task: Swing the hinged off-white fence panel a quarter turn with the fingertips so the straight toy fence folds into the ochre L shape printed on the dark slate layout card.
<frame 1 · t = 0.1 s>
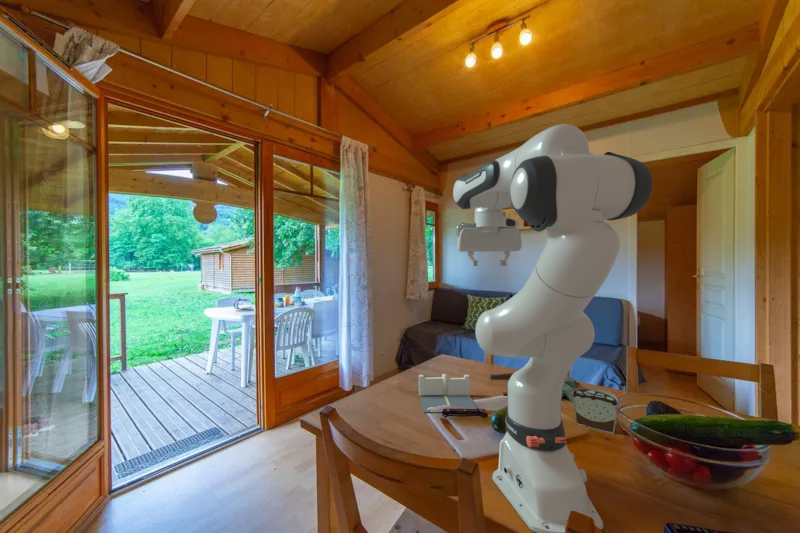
hand: (489, 265, 101), 48 cm above the table, tool pointing down, fingers open, 8 cm apart
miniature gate: (535, 389, 122), on the table
fence panel: (433, 384, 114), point 4 cm above the table, hinge at 0.0°
fence fixed section: (456, 396, 115), resting on layout card
layout card: (445, 398, 113), on the table
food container: (595, 425, 94), on the table
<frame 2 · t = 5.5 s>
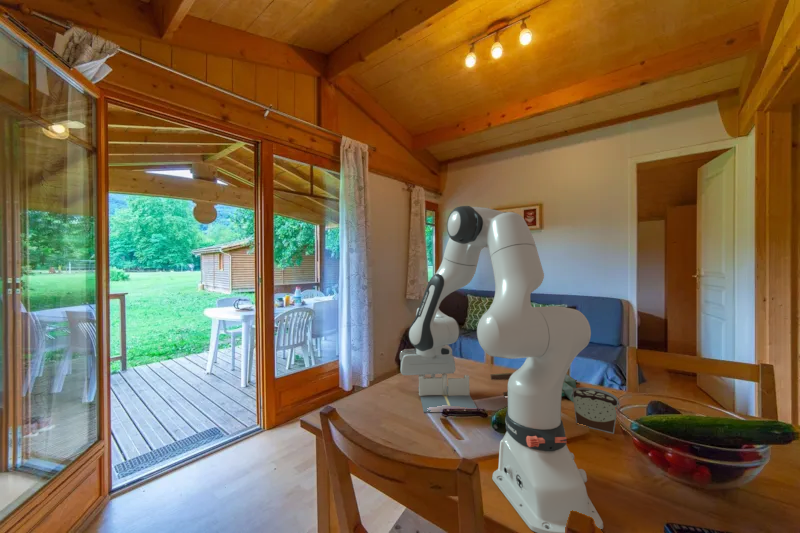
hand: (427, 385, 116), 4 cm above the table, tool pointing down, fingers closed
fence panel: (433, 384, 114), point 4 cm above the table, hinge at 0.5°, touching gripper
everything else where it was.
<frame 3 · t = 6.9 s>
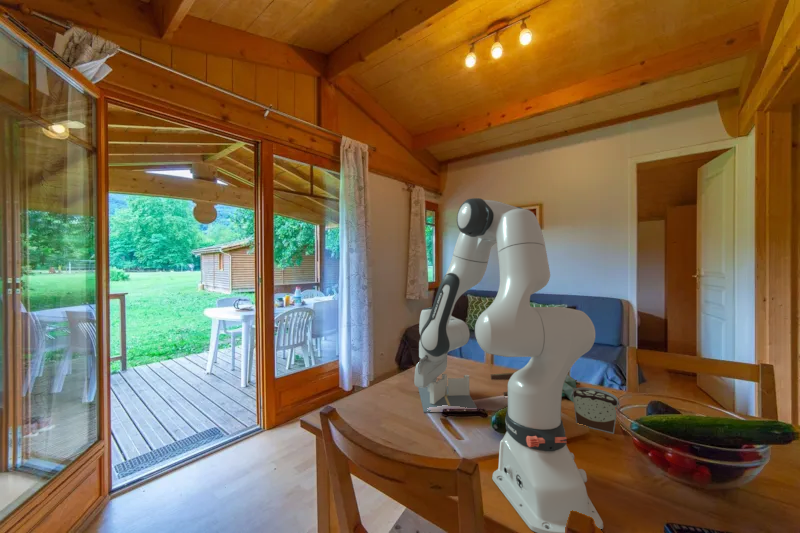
hand: (431, 391, 111), 4 cm above the table, tool pointing down, fingers closed
fence panel: (439, 388, 111), point 4 cm above the table, hinge at 52.5°, touching gripper
everything else where it was.
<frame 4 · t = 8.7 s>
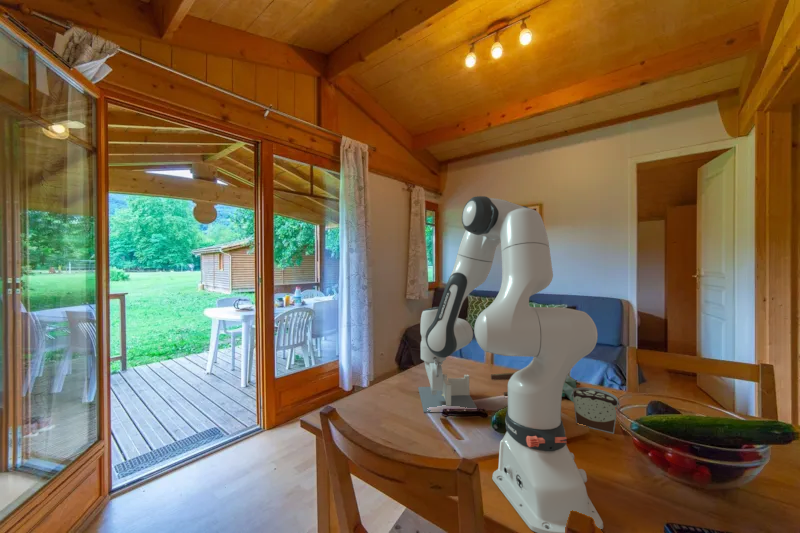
hand: (433, 393, 109), 4 cm above the table, tool pointing down, fingers closed
fence panel: (446, 389, 110), point 4 cm above the table, hinge at 88.2°
everything else where it was.
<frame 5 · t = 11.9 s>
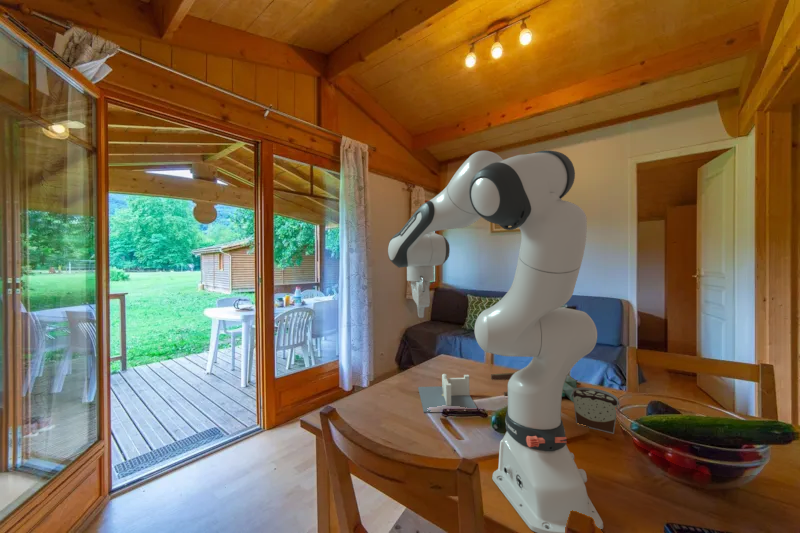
hand: (420, 317, 104), 31 cm above the table, tool pointing down, fingers closed
nothing on the table moved.
at the end: fence panel at +88° (first picture: +0°) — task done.
